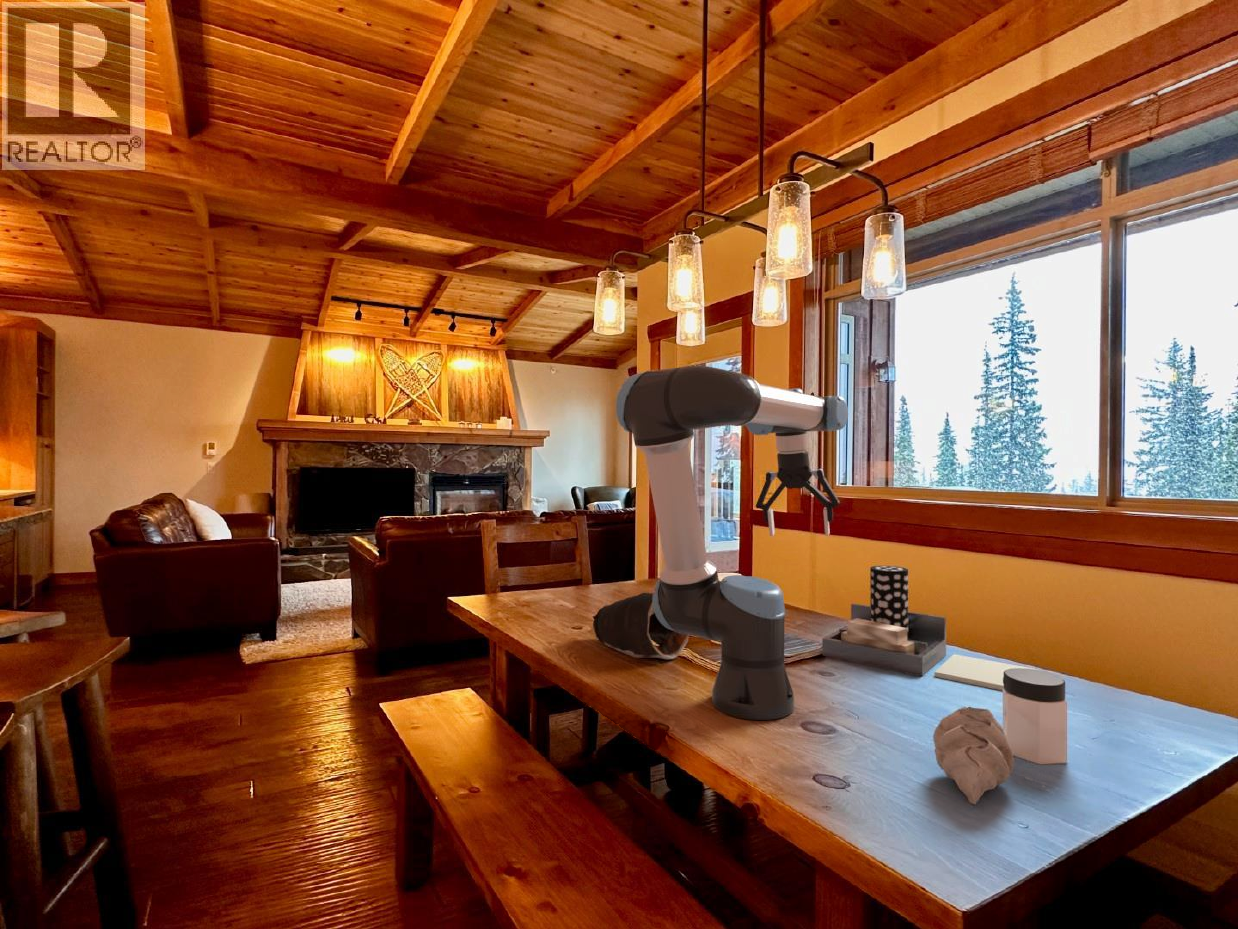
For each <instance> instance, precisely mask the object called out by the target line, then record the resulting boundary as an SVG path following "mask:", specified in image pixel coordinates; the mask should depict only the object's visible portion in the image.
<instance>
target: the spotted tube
mask: <svg viewBox="0 0 1238 929" xmlns="http://www.w3.org/2000/svg"><path fill="white" fill-rule="evenodd" d="M869 568H870V570H869V571H870V576H869V578H870V589H869V590H870V599H869V600H870V605H869V606H870V610H871V621H873V622H878V623H883V624H888V625H893V626H898V627H903V628H907V639H908V612H909V569H908V568H907V567H901V566H895V565H894V566H893V565H872V566H870V567H869Z"/></svg>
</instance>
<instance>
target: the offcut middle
mask: <svg viewBox="0 0 1238 929" xmlns="http://www.w3.org/2000/svg"><path fill="white" fill-rule="evenodd" d="M841 641H846V642H852V643H857V644H862V645H867V646H873V647H878V648H883V649H889V650H894V651H899V652H905V653H910V654H914V642H910V641H907V642H905V643H903V644H900V645H893V644H889V643H884V642H880V641H875V640H871V639H867V638H862V637H858V636H853V635H849V634H847V631H845V632H842V633H841Z"/></svg>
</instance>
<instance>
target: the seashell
mask: <svg viewBox="0 0 1238 929" xmlns="http://www.w3.org/2000/svg"><path fill="white" fill-rule="evenodd" d="M932 738H933V739H932V740H933V743H934V747H935V748H934V752H935V753H934V754H935V759H936V763H937V765H938V767H939V768H940V769H941V770H942V771H943V773H945V776H947V777H948V778H950V779H952V780H954V781H955V783H956V785H957V787H958V788H959V790H960V791H961V792H962V793H963V794H964V795H965V796H966V797H967V800H968V802H969V803H970V804H972V805H975V806H976V805H977V803H978V802H980V798H981V797H982V796H983V795H984V793H985V792H986V791H990V790H994V789H995V788H996V786H1000V785H1002V784H1004V783H1006V782H1007V781H1008V779H1009V776H1010V774H1011V771H1012V770H1013V767H1014V763H1015V759H1014V756H1013V755H1012V751H1011V749H1010V747H1009V745H1008V742H1007V739H1006V736H1005V734H1004V731H1003V725H1001V724H1000V723H999V721H998V720H997V719H996V718H995V717H994V715H993V713H992V712H991V711H990V710H989V709H988V708H979V707H978V708H977V707H971V706H968V707H966V706H963V707H961V708H958V709H957V710H955V711H954V712H952V713H950V714H947V715H946V716H944V717H942V719H941V720H940V721H939V723H938V724H937V726H936V727H935V730H934V733H933V736H932Z"/></svg>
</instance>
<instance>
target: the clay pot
mask: <svg viewBox="0 0 1238 929" xmlns="http://www.w3.org/2000/svg"><path fill="white" fill-rule="evenodd" d="M653 594H655V592H654V593H651V592H641V593H640V594H637V595H633V596H628V597H626V598H624V599H621V600H617V601H614V602H613V603H611V604H609V605H605V606H603V607H601V608H600V609H599V610H598V611H597V613H596V614H595V615H593V616H591V617H592V619H593V622H592V627H593V631H594V635H595V638H596V639H597V640H598V641H600V642H601V643H602V644H604V645H605V646H606V647H610V648H612V649H614V650H616V651H617V652H621V653H623V654H624V655H626V656H627V655H628V656H630V657H632V658H636V659H640V658H642V659H643V658H644V659H645V658H647V659H650V658H651V659H652V658H655V659H656V658H658V659H663V660H673V659H676V658H678V656H679V654H681V653H682V651H683V650H684V648H686V645H687V643H688V642H689V636H690V635H683V634H680V633H678V632H675V631H673V630H670V629H667V628H666V627H664V626H663V625H662V624H661V623H660V622H659V620H658V619H657V617H656V615H655V612H654V608H653ZM654 643H655V644H656V645H657V646H658V648H657V647H656V646H655V645H654Z"/></svg>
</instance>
